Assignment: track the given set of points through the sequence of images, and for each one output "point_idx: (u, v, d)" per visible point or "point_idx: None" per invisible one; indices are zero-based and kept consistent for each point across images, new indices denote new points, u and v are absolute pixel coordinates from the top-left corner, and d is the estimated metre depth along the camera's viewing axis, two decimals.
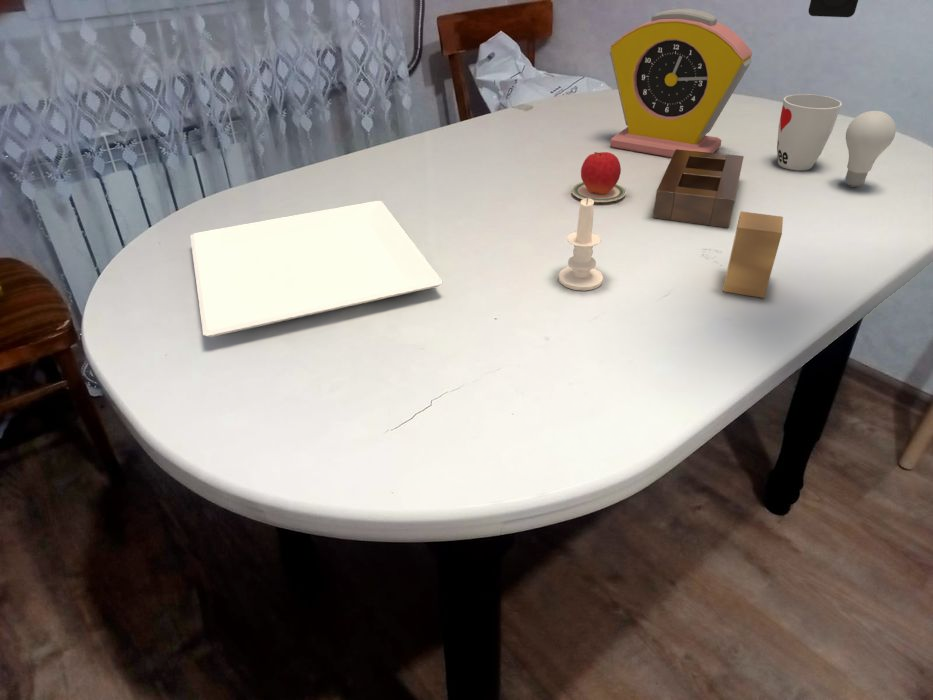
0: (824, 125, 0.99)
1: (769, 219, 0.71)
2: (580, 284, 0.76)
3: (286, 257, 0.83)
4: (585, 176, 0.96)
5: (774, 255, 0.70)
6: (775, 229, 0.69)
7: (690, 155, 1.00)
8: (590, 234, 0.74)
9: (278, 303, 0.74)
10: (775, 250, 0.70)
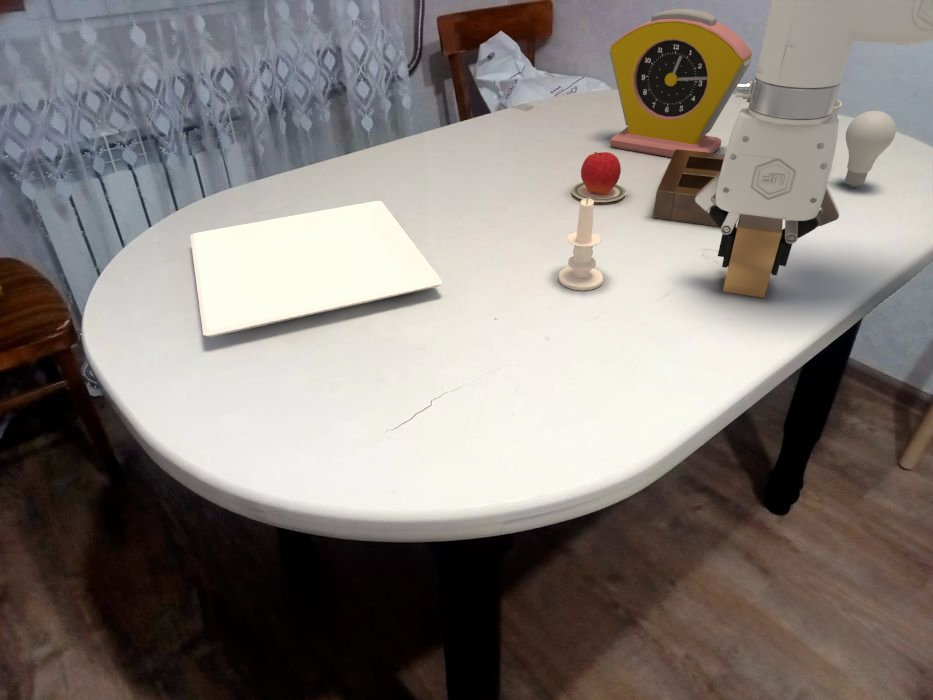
0: None
1: (769, 219, 0.71)
2: (580, 284, 0.76)
3: (286, 257, 0.83)
4: (585, 176, 0.96)
5: (774, 255, 0.70)
6: (775, 229, 0.69)
7: (690, 155, 1.00)
8: (590, 234, 0.74)
9: (278, 303, 0.74)
10: (775, 250, 0.70)
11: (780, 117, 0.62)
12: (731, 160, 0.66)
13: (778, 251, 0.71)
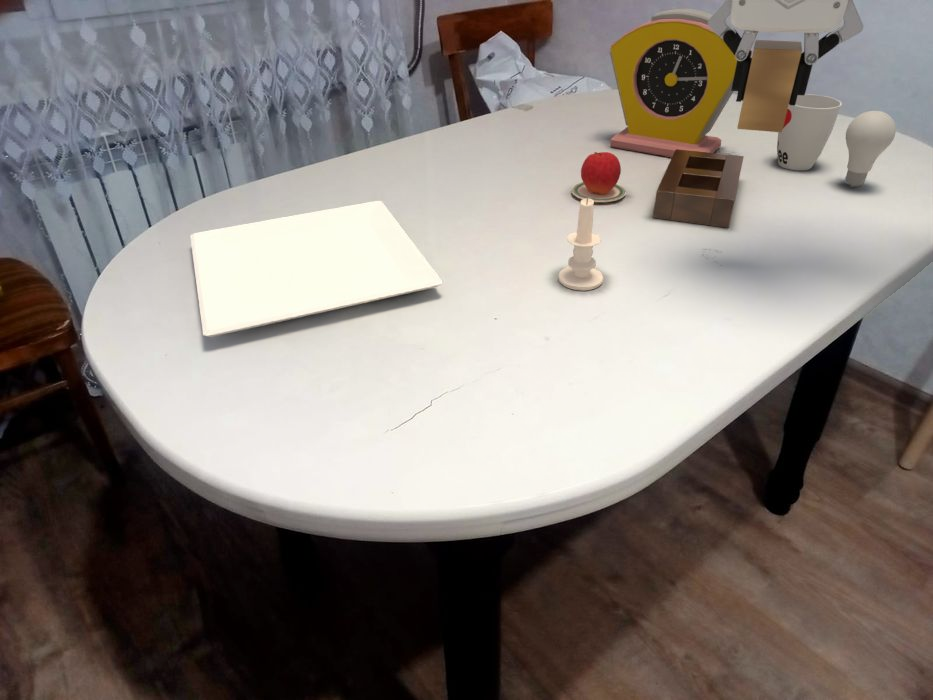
0: (824, 125, 0.99)
1: (787, 43, 0.67)
2: (580, 284, 0.76)
3: (286, 257, 0.83)
4: (585, 176, 0.96)
5: (793, 79, 0.66)
6: (794, 48, 0.65)
7: (690, 155, 1.00)
8: (590, 234, 0.74)
9: (278, 303, 0.74)
10: (794, 72, 0.65)
11: None
12: None
13: (797, 75, 0.66)
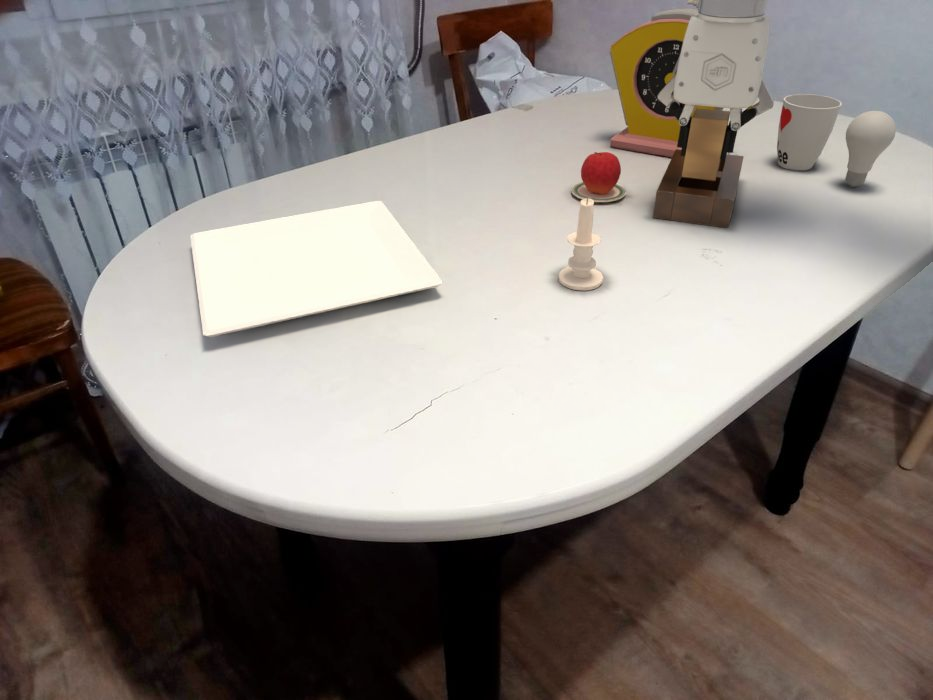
0: (824, 125, 0.99)
1: (718, 112, 0.86)
2: (580, 284, 0.76)
3: (286, 257, 0.83)
4: (585, 176, 0.96)
5: (722, 141, 0.85)
6: (722, 118, 0.84)
7: None
8: (590, 234, 0.74)
9: (278, 303, 0.74)
10: (722, 136, 0.85)
11: (721, 16, 0.76)
12: (685, 57, 0.81)
13: (725, 138, 0.85)
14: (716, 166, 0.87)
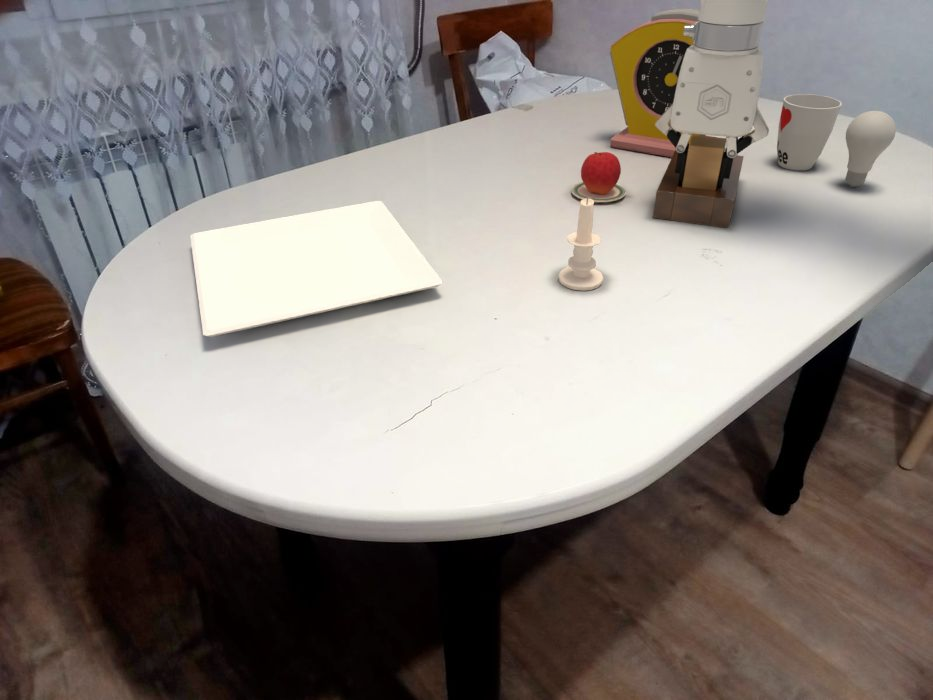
0: (824, 125, 0.99)
1: (715, 140, 0.88)
2: (580, 284, 0.76)
3: (286, 257, 0.83)
4: (585, 176, 0.96)
5: (718, 168, 0.87)
6: (719, 146, 0.86)
7: None
8: (590, 234, 0.74)
9: (278, 303, 0.74)
10: (719, 163, 0.87)
11: (716, 49, 0.78)
12: (681, 88, 0.83)
13: (722, 165, 0.87)
14: None
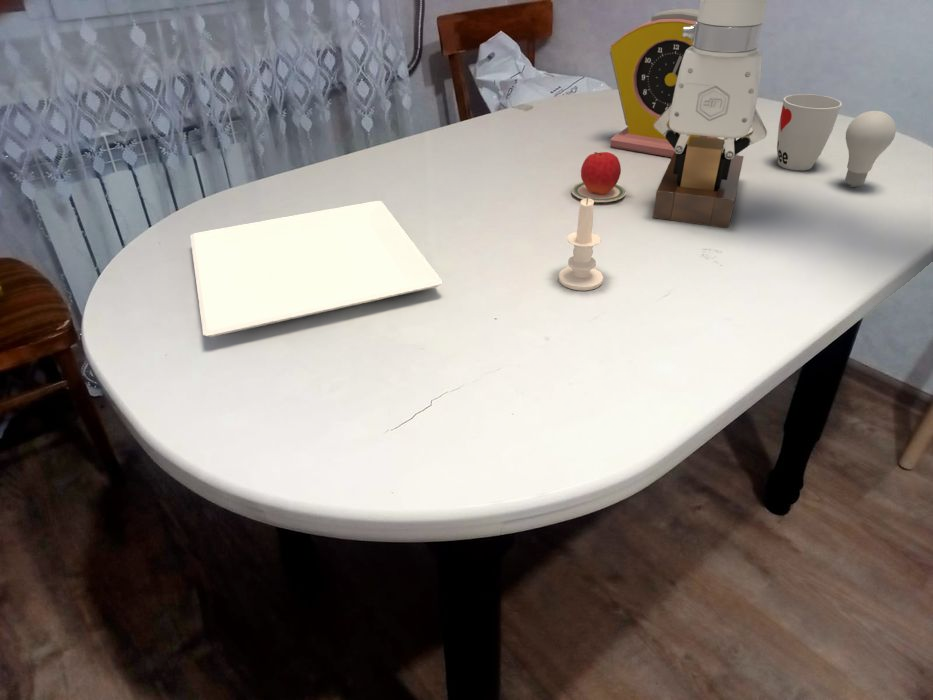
0: (824, 125, 0.99)
1: (713, 141, 0.88)
2: (580, 284, 0.76)
3: (286, 257, 0.83)
4: (585, 176, 0.96)
5: (716, 169, 0.87)
6: (717, 147, 0.86)
7: None
8: (590, 234, 0.74)
9: (278, 303, 0.74)
10: (717, 165, 0.87)
11: (715, 51, 0.78)
12: (680, 88, 0.83)
13: (720, 166, 0.87)
14: None
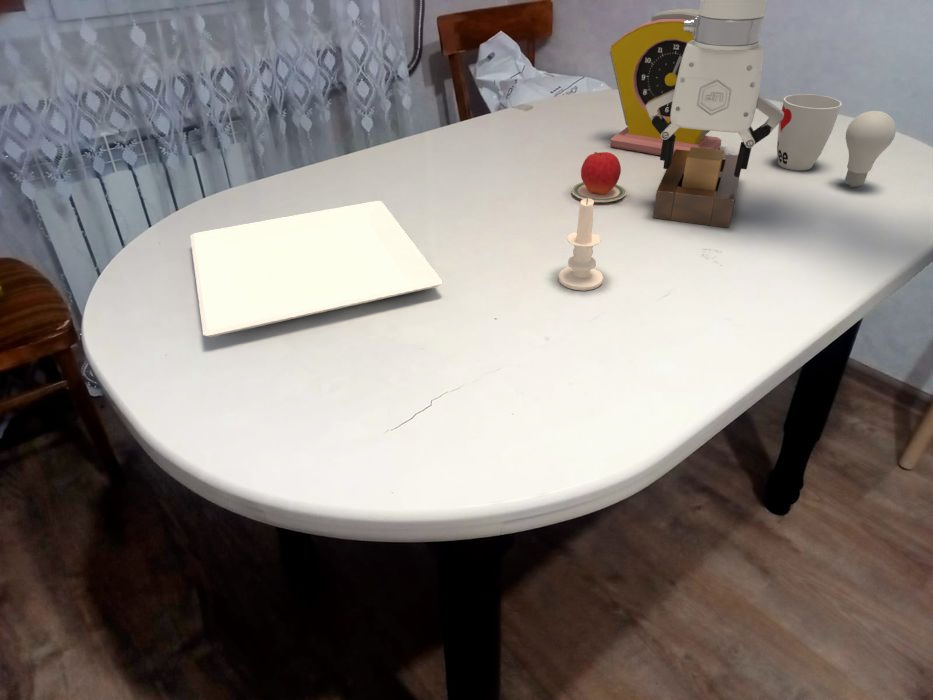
0: (824, 125, 0.99)
1: (712, 152, 0.89)
2: (580, 284, 0.76)
3: (286, 257, 0.83)
4: (585, 176, 0.96)
5: (716, 180, 0.88)
6: (716, 158, 0.87)
7: None
8: (590, 234, 0.74)
9: (278, 303, 0.74)
10: (716, 175, 0.88)
11: (716, 44, 0.78)
12: (681, 83, 0.83)
13: (740, 155, 0.86)
14: None
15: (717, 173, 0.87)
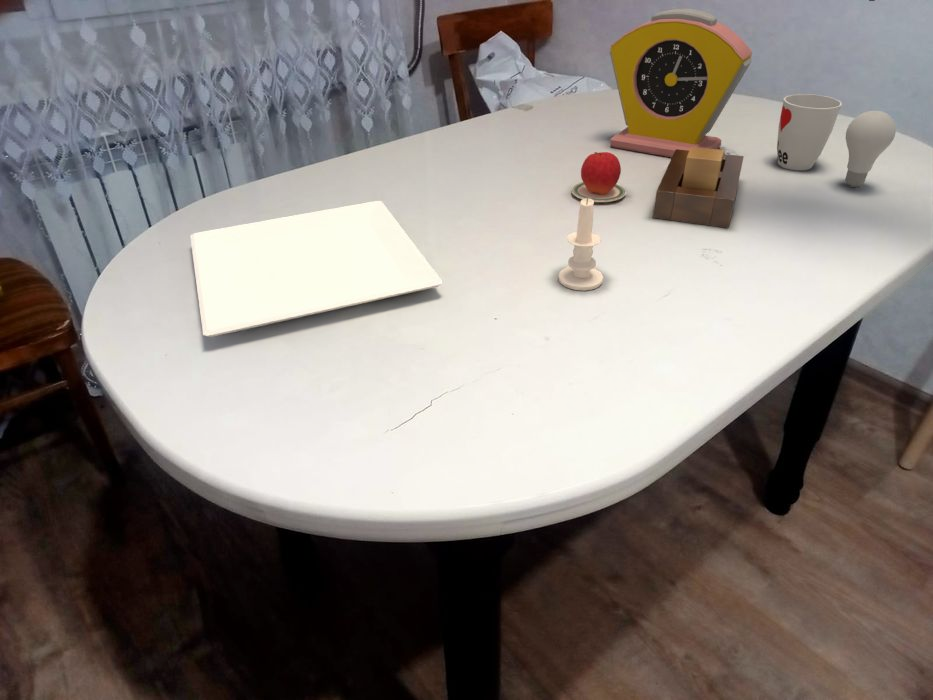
0: (824, 125, 0.99)
1: (712, 152, 0.89)
2: (580, 284, 0.76)
3: (286, 257, 0.83)
4: (585, 176, 0.96)
5: (716, 180, 0.88)
6: (716, 158, 0.87)
7: None
8: (590, 234, 0.74)
9: (278, 303, 0.74)
10: (716, 175, 0.88)
11: None
12: None
13: None
14: None
15: (717, 173, 0.87)
